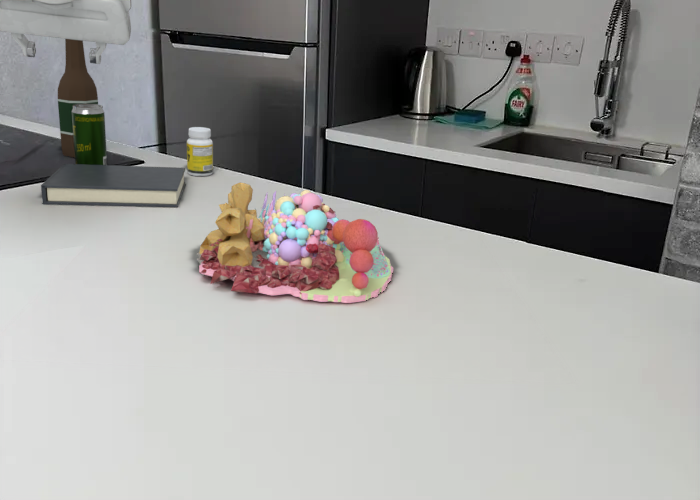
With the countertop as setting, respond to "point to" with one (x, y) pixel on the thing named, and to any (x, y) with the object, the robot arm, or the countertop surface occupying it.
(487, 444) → the countertop surface
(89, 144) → the beer can
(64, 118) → the beer bottle
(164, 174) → the book
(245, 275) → the candy landscape model
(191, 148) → the supplement bottle
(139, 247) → the countertop surface
